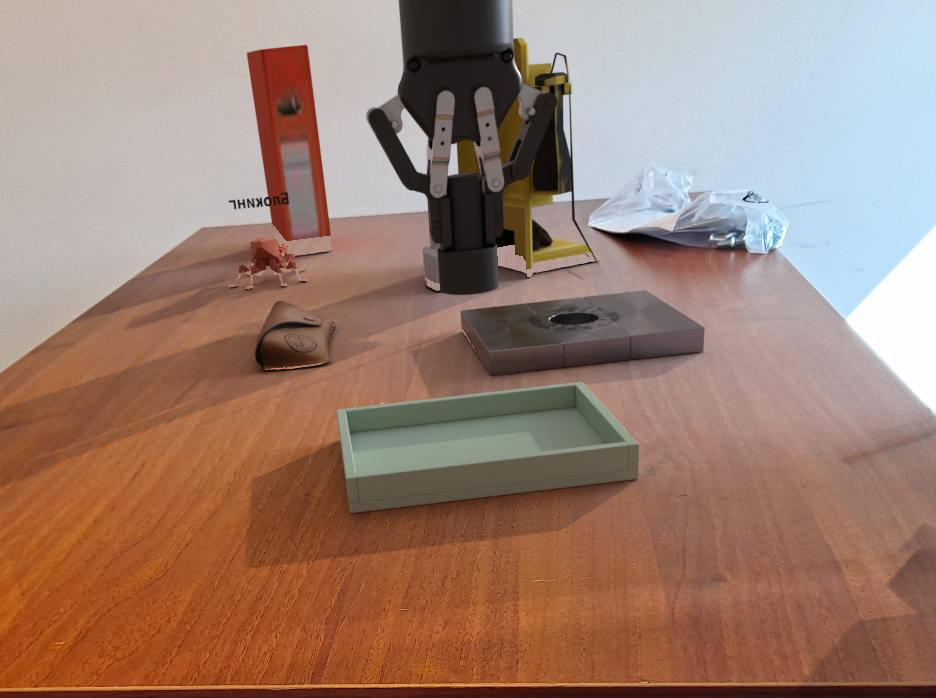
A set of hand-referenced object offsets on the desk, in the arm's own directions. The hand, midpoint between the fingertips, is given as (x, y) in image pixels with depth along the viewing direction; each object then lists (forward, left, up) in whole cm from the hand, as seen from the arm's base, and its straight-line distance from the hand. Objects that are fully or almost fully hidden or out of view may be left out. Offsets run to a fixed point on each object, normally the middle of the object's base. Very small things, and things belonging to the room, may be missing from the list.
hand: (467, 245), depth 72 cm
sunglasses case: (+14, -40, -17) cm, 45 cm away
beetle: (+18, -82, -17) cm, 86 cm away
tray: (0, 0, -17) cm, 17 cm away
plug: (0, 0, -3) cm, 3 cm away
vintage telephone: (-22, -72, -17) cm, 77 cm away
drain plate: (-16, -30, -17) cm, 38 cm away
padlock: (-6, -64, -17) cm, 66 cm away
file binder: (+13, -108, -17) cm, 110 cm away
